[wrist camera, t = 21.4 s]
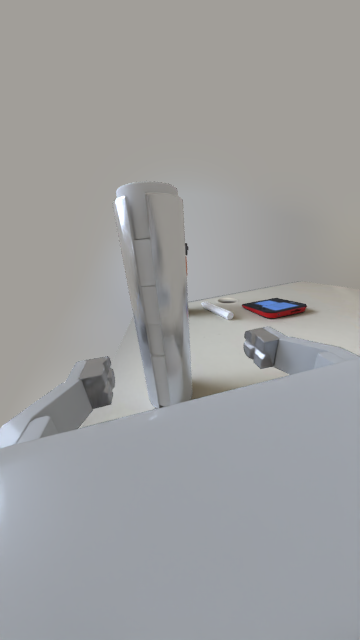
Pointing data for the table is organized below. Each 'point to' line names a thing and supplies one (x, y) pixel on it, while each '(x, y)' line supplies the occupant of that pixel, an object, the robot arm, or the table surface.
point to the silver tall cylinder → (157, 285)
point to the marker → (218, 310)
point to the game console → (275, 307)
